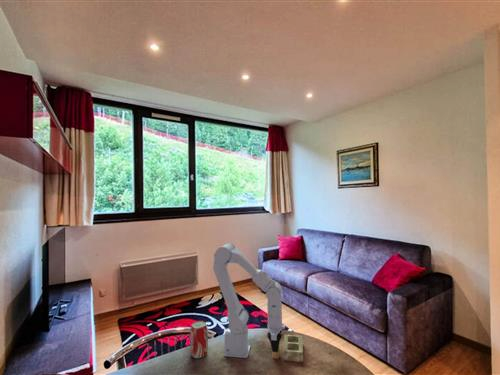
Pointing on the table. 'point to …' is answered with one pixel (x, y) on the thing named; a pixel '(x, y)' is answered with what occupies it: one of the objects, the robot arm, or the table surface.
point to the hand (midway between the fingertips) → (275, 348)
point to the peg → (275, 354)
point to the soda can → (198, 339)
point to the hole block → (293, 348)
